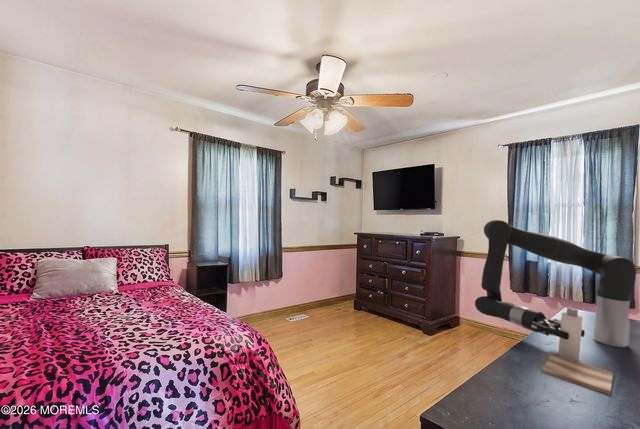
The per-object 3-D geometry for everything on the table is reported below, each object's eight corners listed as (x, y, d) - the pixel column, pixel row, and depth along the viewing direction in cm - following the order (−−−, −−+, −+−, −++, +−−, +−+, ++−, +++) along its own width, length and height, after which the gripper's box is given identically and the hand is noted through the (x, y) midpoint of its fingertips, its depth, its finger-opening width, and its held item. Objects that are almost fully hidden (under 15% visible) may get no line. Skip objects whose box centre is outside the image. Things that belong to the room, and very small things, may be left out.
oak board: (550, 356, 104) (551, 353, 104) (612, 375, 93) (613, 372, 93) (541, 371, 93) (542, 368, 93) (610, 395, 83) (610, 391, 83)
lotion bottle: (569, 353, 108) (573, 307, 107) (583, 361, 102) (587, 312, 102) (554, 352, 107) (558, 306, 107) (567, 360, 102) (571, 311, 101)
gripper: (514, 309, 115) (563, 325, 100) (539, 306, 121) (589, 321, 106) (513, 329, 115) (562, 349, 100) (538, 326, 121) (588, 344, 106)
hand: (576, 335), depth 103 cm, fingers open, 8 cm apart
